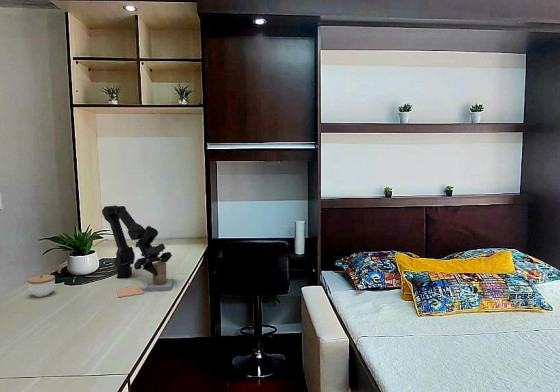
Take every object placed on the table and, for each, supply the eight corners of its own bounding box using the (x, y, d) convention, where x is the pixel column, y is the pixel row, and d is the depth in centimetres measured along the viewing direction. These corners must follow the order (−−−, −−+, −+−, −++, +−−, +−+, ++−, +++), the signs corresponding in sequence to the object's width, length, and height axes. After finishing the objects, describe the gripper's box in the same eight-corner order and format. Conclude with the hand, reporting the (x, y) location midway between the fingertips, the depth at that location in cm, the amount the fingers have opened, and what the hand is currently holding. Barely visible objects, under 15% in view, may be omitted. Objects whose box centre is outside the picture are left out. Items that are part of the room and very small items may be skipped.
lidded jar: (61, 292, 186) (60, 272, 185) (40, 299, 176) (39, 279, 175) (44, 289, 190) (42, 270, 189) (23, 297, 180) (21, 276, 179)
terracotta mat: (116, 290, 189) (116, 289, 189) (140, 287, 194) (140, 286, 193) (117, 297, 179) (117, 296, 179) (143, 294, 184) (143, 292, 184)
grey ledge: (146, 291, 187) (146, 287, 187) (150, 284, 198) (149, 280, 198) (170, 290, 189) (170, 286, 188) (172, 283, 199) (172, 279, 199)
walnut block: (153, 283, 192) (152, 263, 191) (160, 281, 196) (160, 261, 195) (158, 285, 190) (158, 264, 189) (166, 282, 193) (166, 262, 192)
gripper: (136, 242, 186) (152, 269, 180) (169, 235, 201) (184, 260, 195) (127, 256, 191) (142, 283, 186) (159, 249, 206) (174, 273, 201)
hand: (161, 274), depth 192 cm, fingers closed on walnut block, 4 cm apart
